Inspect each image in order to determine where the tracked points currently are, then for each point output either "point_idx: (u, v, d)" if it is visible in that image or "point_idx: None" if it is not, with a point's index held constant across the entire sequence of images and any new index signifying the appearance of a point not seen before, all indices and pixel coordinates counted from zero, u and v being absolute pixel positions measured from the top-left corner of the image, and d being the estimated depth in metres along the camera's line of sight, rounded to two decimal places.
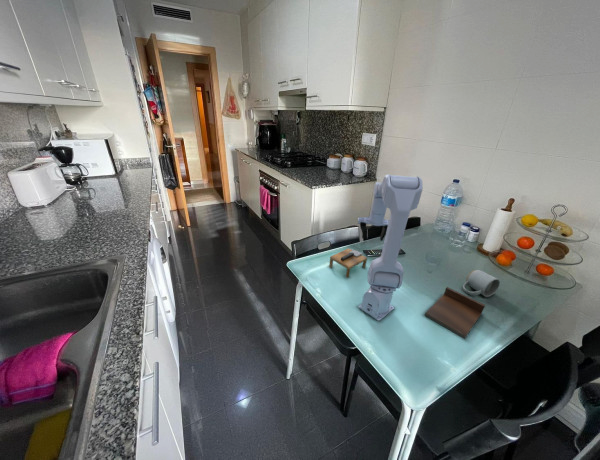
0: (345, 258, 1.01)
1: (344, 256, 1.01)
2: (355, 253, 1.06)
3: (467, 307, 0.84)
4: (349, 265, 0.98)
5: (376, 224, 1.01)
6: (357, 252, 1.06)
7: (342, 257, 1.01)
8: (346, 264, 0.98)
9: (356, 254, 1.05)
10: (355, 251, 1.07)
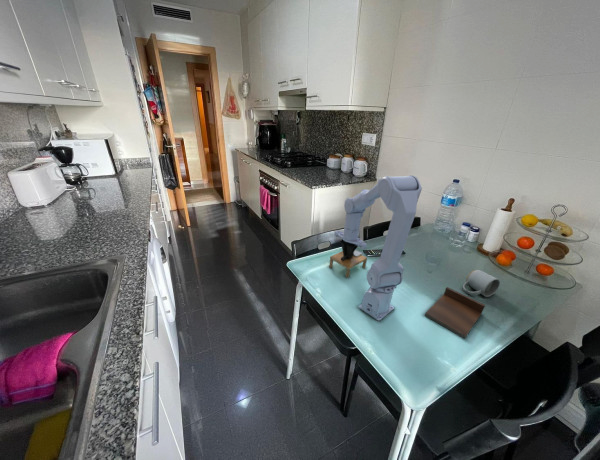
0: (345, 258, 1.01)
1: (344, 256, 1.01)
2: (355, 253, 1.06)
3: (467, 307, 0.84)
4: (349, 265, 0.98)
5: (345, 239, 0.97)
6: (357, 252, 1.06)
7: (342, 257, 1.01)
8: (346, 264, 0.98)
9: (356, 254, 1.05)
10: (355, 251, 1.07)
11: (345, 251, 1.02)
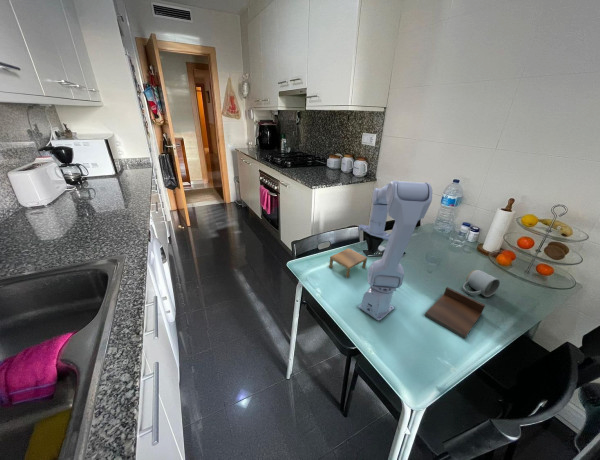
0: (370, 253, 0.97)
1: (369, 251, 0.97)
2: (379, 248, 1.01)
3: (467, 307, 0.84)
4: (349, 265, 0.98)
5: (371, 233, 0.93)
6: (381, 247, 1.02)
7: (367, 252, 0.96)
8: (346, 264, 0.98)
9: (380, 249, 1.01)
10: (379, 246, 1.03)
11: (370, 245, 0.97)
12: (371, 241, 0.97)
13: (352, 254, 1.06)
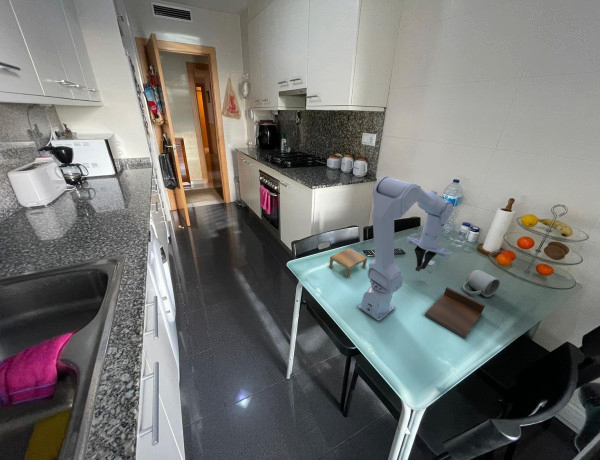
0: (420, 268, 0.88)
1: (419, 266, 0.89)
2: None
3: (467, 307, 0.84)
4: (349, 265, 0.98)
5: (424, 247, 0.84)
6: None
7: (417, 267, 0.88)
8: (346, 264, 0.98)
9: (430, 263, 0.92)
10: None
11: (420, 260, 0.89)
12: (421, 255, 0.88)
13: (352, 254, 1.06)
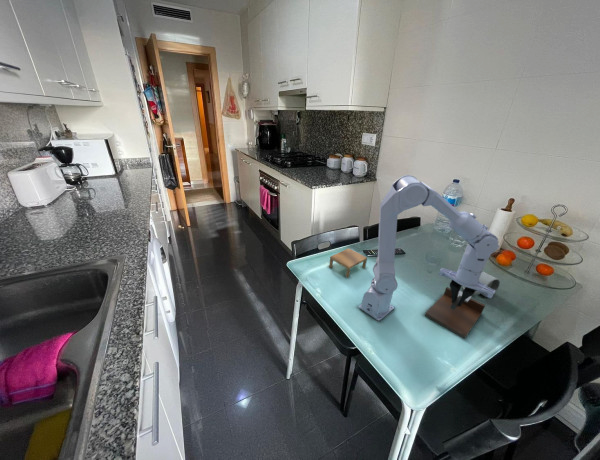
0: (456, 305, 0.77)
1: (454, 302, 0.78)
2: None
3: (467, 307, 0.84)
4: (349, 265, 0.98)
5: (462, 283, 0.73)
6: None
7: (453, 304, 0.77)
8: (346, 264, 0.98)
9: None
10: (461, 293, 0.83)
11: (455, 296, 0.78)
12: (457, 291, 0.77)
13: (352, 254, 1.06)
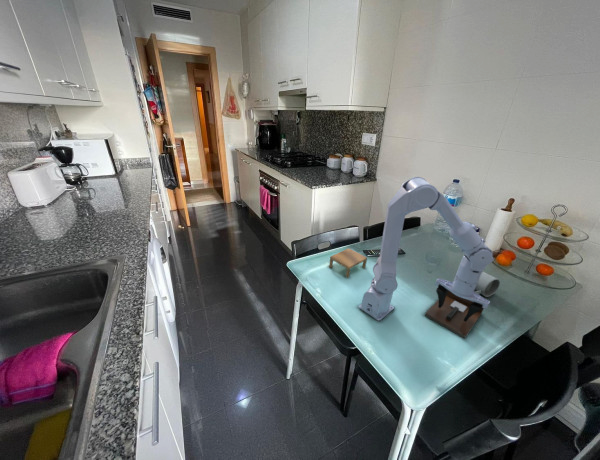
0: (452, 316, 0.79)
1: (450, 313, 0.79)
2: (459, 307, 0.83)
3: (467, 307, 0.84)
4: (349, 265, 0.98)
5: (458, 294, 0.75)
6: (460, 305, 0.84)
7: (448, 315, 0.79)
8: (346, 264, 0.98)
9: (461, 309, 0.83)
10: (457, 303, 0.85)
11: (442, 301, 0.81)
12: (444, 296, 0.81)
13: (352, 254, 1.06)
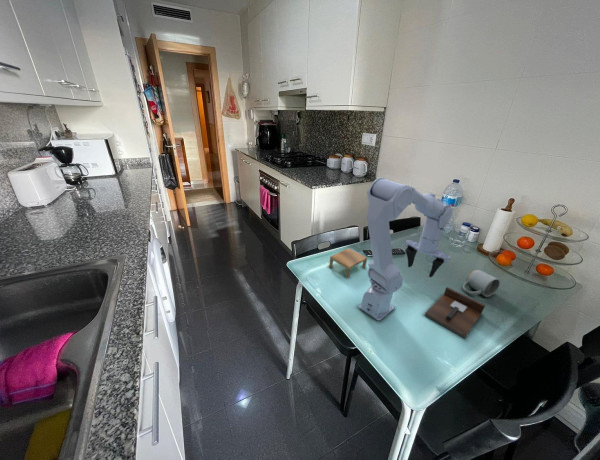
0: (452, 316, 0.79)
1: (450, 313, 0.79)
2: (459, 307, 0.83)
3: (467, 307, 0.84)
4: (349, 265, 0.98)
5: (422, 251, 0.83)
6: (460, 305, 0.84)
7: (448, 315, 0.79)
8: (346, 264, 0.98)
9: (461, 309, 0.83)
10: (457, 303, 0.85)
11: (411, 260, 0.89)
12: (412, 256, 0.89)
13: (352, 254, 1.06)
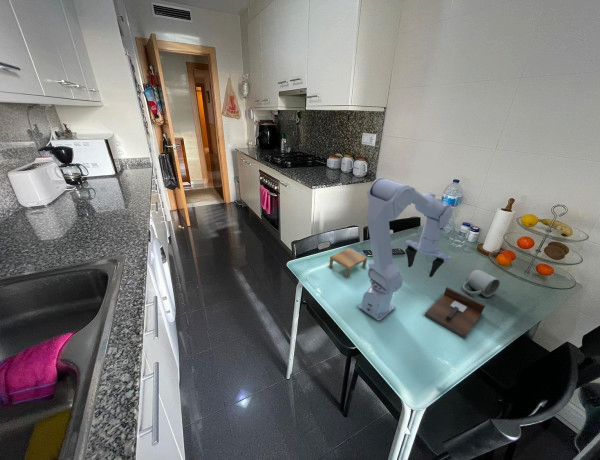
0: (452, 316, 0.79)
1: (450, 313, 0.79)
2: (459, 307, 0.83)
3: (467, 307, 0.84)
4: (349, 265, 0.98)
5: (422, 251, 0.83)
6: (460, 305, 0.84)
7: (448, 315, 0.79)
8: (346, 264, 0.98)
9: (461, 309, 0.83)
10: (457, 303, 0.85)
11: (411, 260, 0.89)
12: (412, 256, 0.89)
13: (352, 254, 1.06)
